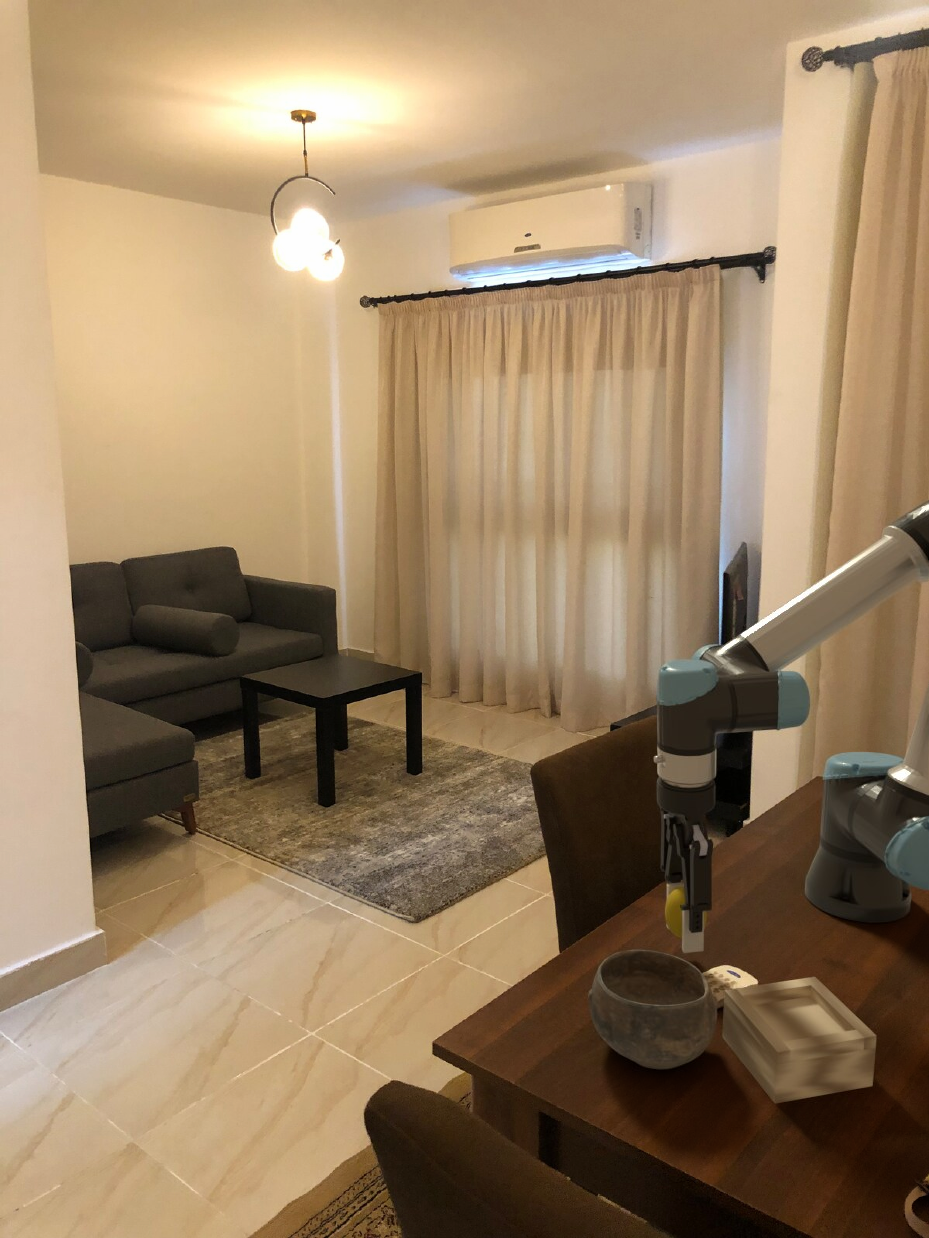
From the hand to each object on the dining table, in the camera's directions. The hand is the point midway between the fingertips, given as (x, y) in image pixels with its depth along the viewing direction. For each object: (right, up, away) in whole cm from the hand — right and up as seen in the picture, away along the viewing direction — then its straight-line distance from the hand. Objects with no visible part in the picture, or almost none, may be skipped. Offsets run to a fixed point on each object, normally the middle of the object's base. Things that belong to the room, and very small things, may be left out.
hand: (684, 938), depth 133 cm
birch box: (+8, -8, -20) cm, 23 cm away
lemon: (0, -1, 0) cm, 1 cm away
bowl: (-8, -8, -18) cm, 21 cm away
